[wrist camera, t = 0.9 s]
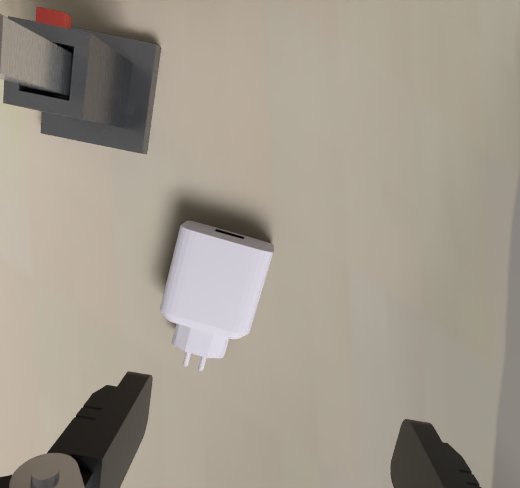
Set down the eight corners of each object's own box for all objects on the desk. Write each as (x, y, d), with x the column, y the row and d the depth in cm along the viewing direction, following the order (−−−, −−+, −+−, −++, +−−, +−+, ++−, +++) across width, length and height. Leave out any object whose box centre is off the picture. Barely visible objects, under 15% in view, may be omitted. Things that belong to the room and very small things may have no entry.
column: (79, 67, 36) (-85, -13, 19) (113, 74, 36) (-23, 0, 20) (76, 102, 37) (-86, 53, 20) (109, 109, 37) (-26, 66, 20)
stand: (57, 27, 37) (-19, -21, 28) (161, 48, 37) (121, 8, 28) (49, 134, 39) (-25, 124, 30) (146, 153, 40) (105, 151, 30)
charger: (157, 345, 44) (188, 218, 41) (236, 367, 44) (273, 242, 41) (144, 367, 39) (178, 226, 36) (232, 391, 40) (273, 253, 37)
